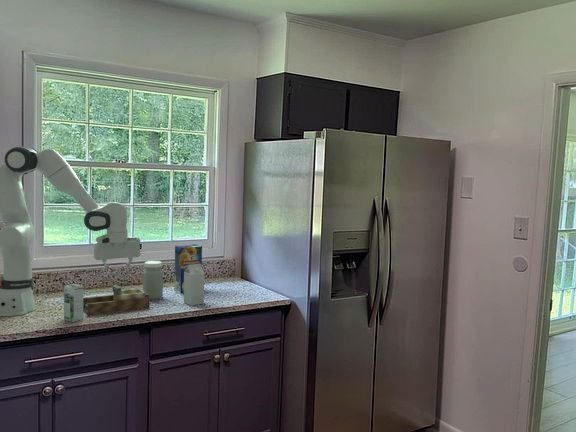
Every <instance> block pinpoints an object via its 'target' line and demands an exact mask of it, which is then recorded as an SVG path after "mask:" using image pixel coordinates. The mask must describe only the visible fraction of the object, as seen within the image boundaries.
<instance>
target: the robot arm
mask: <svg viewBox="0 0 576 432" xmlns="http://www.w3.org/2000/svg"><path fill="white" fill-rule="evenodd" d="M35 170H37V171H39V172H41V174H42V175H44V177H45V179H46V180H47V181H48V182H49V183H50V185H51V186H53V187H54V188H55V189H56V190H57V191H58V192H60V193H63V194H66V195H68V196H69V197H72V198H73V199H74V200H75V201H76V203H78V205H80V207H81V208H82V209H83V210H84V212H85V213H86V214H85V216H84V217H83V223H84V224H83V225H84V226H85V227H86V228H87V229H88V230H89V231H92V232H99V231H103V230H106V233H105V234H103V235H100V236H98V237H96V238H95V241H96V243H95V244H94V247H93V259H94V260H96V261H101V262H102V264H103V265H104V270H110V265H109V264H107V260H114V259H115V260H116V259H117V260H119V259H127V258H128V261H127V262H126V263H125V267H126V268H131V264H132V261H133V258H139V257H140V256H141V249H140V248H141V247H140V246H141V239H140V238H139V237H137V236H129V237H128V228H127V225H128V212H127V211H128V210H127V206H126V205H125V204H124V203H122V202H117V201H109V202H107V203H105V204H104V205H100V204H99V203H98V202H97V201H96V200H95V199H94V198H93V197H92V195H91V194H90V193H89V192H88V191H87V189H86V188H85V187H84V185H83V184H82V182H81V181H80V179H79V177H78V176H77V174H76V172H75V171H74V169H73V168H72V167H71V165H70V164H69V163H68V162H67V160H66V159H65V158H64V156H62V155H61V154H60V153H59V152H58V151H57V150H55V149H54V148H45V149H43V150H41V151H37V150H36V149H34V148H32V147H28V146H16V147H12V148H10V149H9V150H8V151H7V152H6V153H5V155H4V164H1V165H0V216H1V218H2V221H3V224H4V226H3V227H2V228H1V229H0V252H1V256H2V262H3V278H2V279H1V278H0V317H8V316H9V317H10V316H12V317H13V316H22V315H26V314H27V313H30V312H33V311H35V310H37V305H36V301H35V297H34V291H33V290H34V277H33V260H32V258H31V253H30V247H29V243H31V242H32V241H33V240H34V238H35V234H36V229H35V227H34V225H33V221H32V218H31V216H30V212H29V210H28V207H27V203H26V198H25V192H24V187H23V184H22V183H23V181H22V178H23V176H25V175H27V174H29V173H32V172H35Z"/></svg>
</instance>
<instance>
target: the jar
mask: <svg viewBox="0 0 576 432" xmlns="http://www.w3.org/2000/svg"><path fill="white" fill-rule="evenodd" d="M162 266H163V264H162V261H160V260H147V261H145V262H144V269H143V270H142V271H143V272H142V273H143V274H142V291H144V292H145V293H147V294H148V295H149V301H156V300H157V299H158V300H160V298H161V299H162V297H163V295H164V271H163V268H162Z"/></svg>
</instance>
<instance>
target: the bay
mask: <svg viewBox="0 0 576 432" xmlns="http://www.w3.org/2000/svg"><path fill="white" fill-rule="evenodd" d="M145 308H146V309H149V308H150V300H149V295H148V294H147V293H145V297H143V298H134V299H125V300H116V301H113V294H106V295H98V296H89V297H83V313H85V314H86V315H87V316H89V317H90V316H96V315H97V316H98V315H103V314H111V313H119V312H128V311H138V310H144V309H145Z"/></svg>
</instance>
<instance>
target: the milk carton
mask: <svg viewBox="0 0 576 432" xmlns="http://www.w3.org/2000/svg"><path fill="white" fill-rule="evenodd" d="M183 303H184V304H186V305H189V306H197V305H202V304H204V303H205V271H204V269H203V266H202V267H201V264H193V265H188V268H187V269H186V270H185V272H184V294H183Z"/></svg>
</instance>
